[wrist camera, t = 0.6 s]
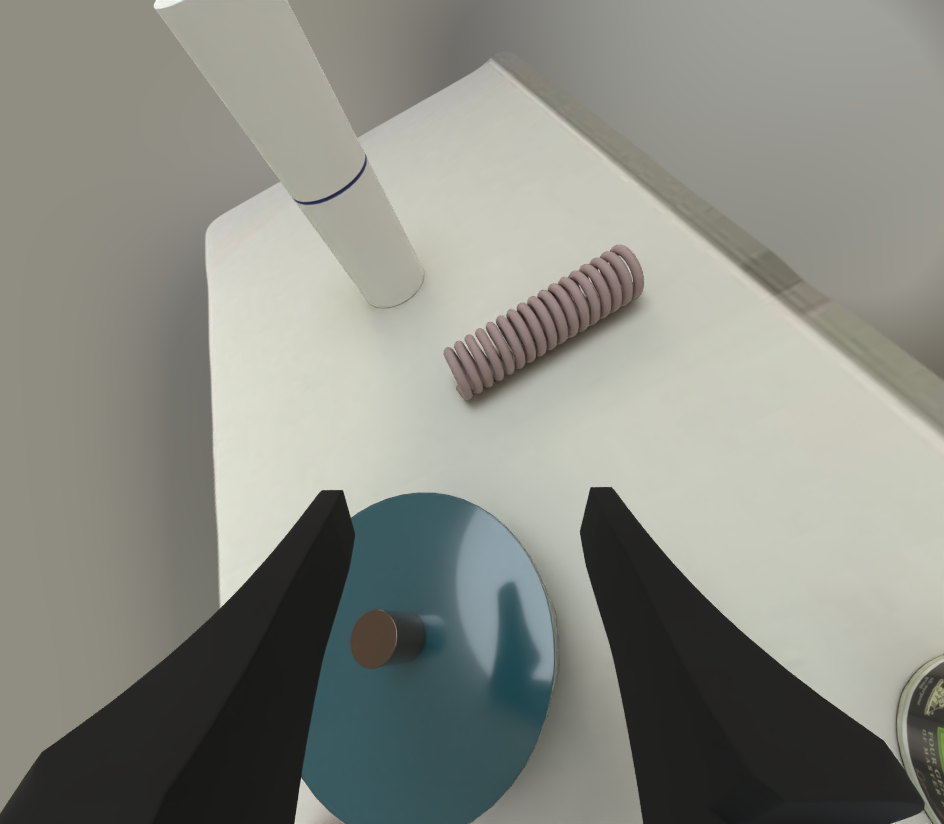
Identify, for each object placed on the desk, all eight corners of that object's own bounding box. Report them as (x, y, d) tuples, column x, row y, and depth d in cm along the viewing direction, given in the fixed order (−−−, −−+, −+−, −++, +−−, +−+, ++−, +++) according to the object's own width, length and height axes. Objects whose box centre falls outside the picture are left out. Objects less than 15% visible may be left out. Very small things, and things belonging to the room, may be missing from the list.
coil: (454, 387, 31) (659, 263, 31) (428, 344, 33) (620, 228, 33) (469, 411, 35) (649, 302, 35) (445, 371, 37) (615, 268, 37)
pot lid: (571, 858, 17) (561, 925, 13) (257, 807, 21) (179, 847, 17) (547, 489, 24) (536, 463, 20) (318, 503, 28) (272, 483, 24)
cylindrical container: (365, 315, 44) (140, 23, 23) (364, 270, 48) (169, -19, 26) (426, 295, 43) (250, -35, 22) (421, 250, 46) (265, -70, 25)
